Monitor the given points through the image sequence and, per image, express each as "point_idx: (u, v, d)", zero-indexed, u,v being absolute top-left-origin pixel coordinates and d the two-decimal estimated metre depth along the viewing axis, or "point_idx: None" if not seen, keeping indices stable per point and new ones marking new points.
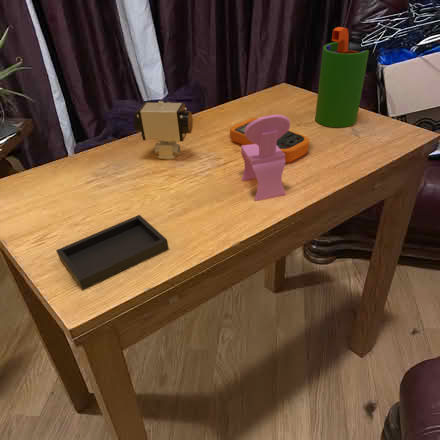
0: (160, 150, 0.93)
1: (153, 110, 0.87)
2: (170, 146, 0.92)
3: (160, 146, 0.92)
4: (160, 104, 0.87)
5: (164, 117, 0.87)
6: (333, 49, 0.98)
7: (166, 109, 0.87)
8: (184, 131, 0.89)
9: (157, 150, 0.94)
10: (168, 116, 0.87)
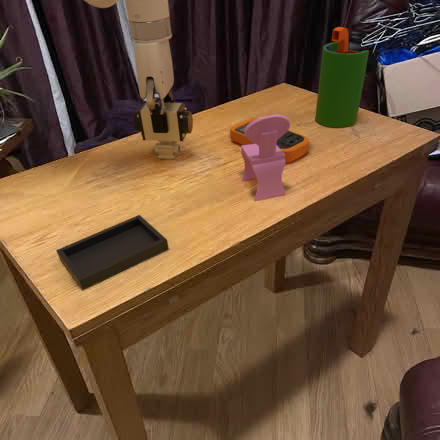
0: (160, 150, 0.93)
1: None
2: (170, 146, 0.92)
3: (160, 146, 0.92)
4: None
5: None
6: (333, 49, 0.98)
7: (166, 109, 0.87)
8: (184, 131, 0.89)
9: (157, 150, 0.94)
10: (168, 116, 0.87)
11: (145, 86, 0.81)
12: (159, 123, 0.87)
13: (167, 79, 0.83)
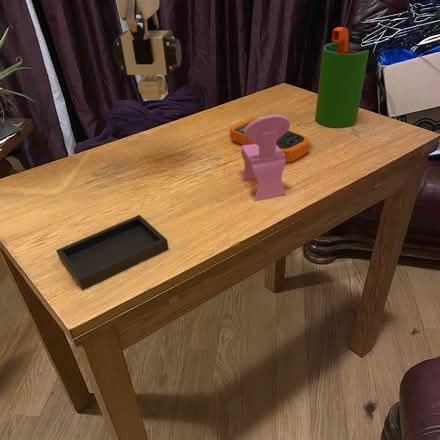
0: (144, 88, 0.82)
1: None
2: (155, 82, 0.81)
3: (144, 82, 0.81)
4: None
5: None
6: (333, 49, 0.98)
7: (150, 35, 0.76)
8: (171, 62, 0.78)
9: (141, 88, 0.82)
10: (153, 43, 0.75)
11: (125, 2, 0.70)
12: (142, 51, 0.75)
13: None
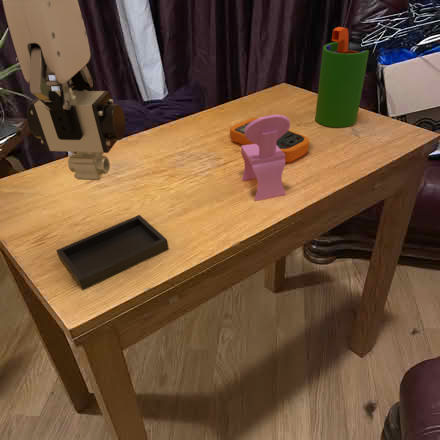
0: (76, 166, 0.59)
1: None
2: (90, 160, 0.58)
3: (75, 160, 0.59)
4: None
5: None
6: (333, 49, 0.98)
7: (76, 101, 0.53)
8: (109, 137, 0.55)
9: (72, 166, 0.60)
10: (79, 112, 0.53)
11: (29, 61, 0.47)
12: (64, 124, 0.53)
13: (71, 50, 0.49)
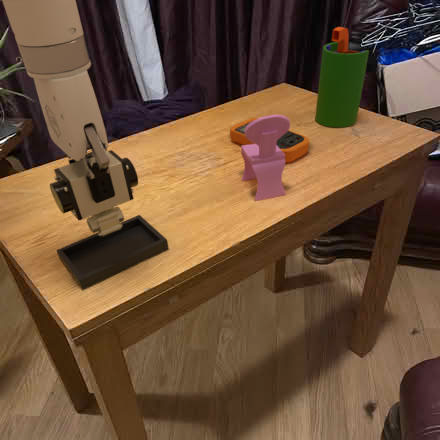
0: (101, 224, 0.65)
1: (86, 172, 0.58)
2: (115, 213, 0.65)
3: (101, 219, 0.64)
4: (89, 161, 0.59)
5: None
6: (333, 49, 0.98)
7: None
8: (132, 185, 0.64)
9: (96, 226, 0.65)
10: (111, 173, 0.60)
11: (84, 139, 0.53)
12: (105, 186, 0.59)
13: None
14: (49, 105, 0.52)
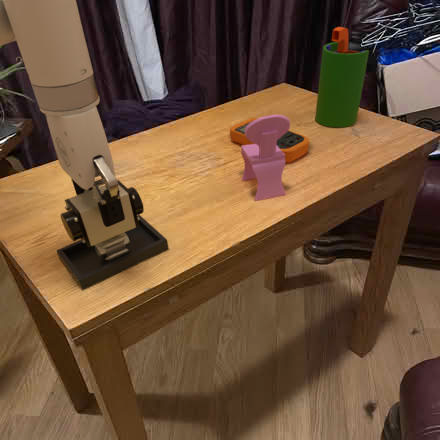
0: (109, 250, 0.68)
1: (95, 203, 0.62)
2: (122, 239, 0.68)
3: (109, 245, 0.67)
4: None
5: None
6: (333, 49, 0.98)
7: None
8: (138, 213, 0.67)
9: (103, 252, 0.68)
10: None
11: (93, 170, 0.56)
12: (116, 211, 0.60)
13: None
14: (60, 138, 0.55)
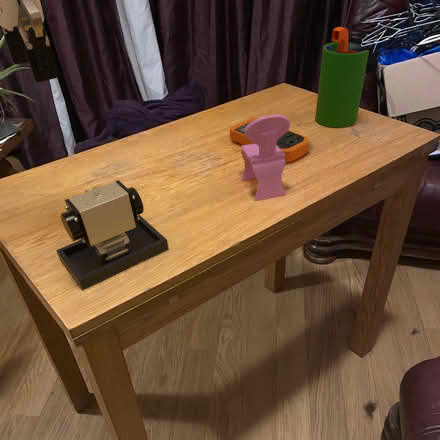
0: (109, 250, 0.68)
1: (95, 203, 0.62)
2: (122, 239, 0.68)
3: (109, 245, 0.67)
4: (97, 193, 0.63)
5: (113, 206, 0.63)
6: (333, 49, 0.98)
7: (110, 195, 0.63)
8: (138, 213, 0.67)
9: (103, 252, 0.68)
10: (118, 203, 0.63)
11: (16, 4, 0.52)
12: (46, 62, 0.56)
13: None
14: None
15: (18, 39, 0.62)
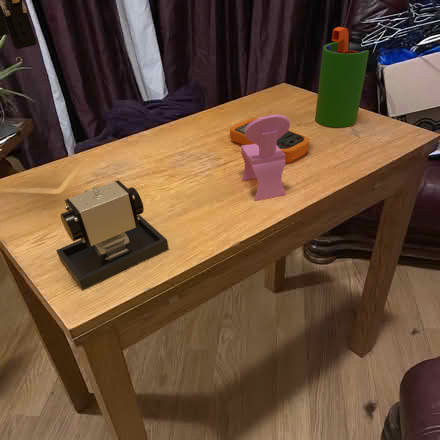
0: (109, 250, 0.68)
1: (95, 203, 0.62)
2: (122, 239, 0.68)
3: (109, 245, 0.67)
4: (97, 193, 0.63)
5: (113, 206, 0.63)
6: (333, 49, 0.98)
7: (110, 195, 0.63)
8: (138, 213, 0.67)
9: (103, 252, 0.68)
10: (118, 203, 0.63)
11: None
12: (23, 29, 0.59)
13: None
14: None
15: None
